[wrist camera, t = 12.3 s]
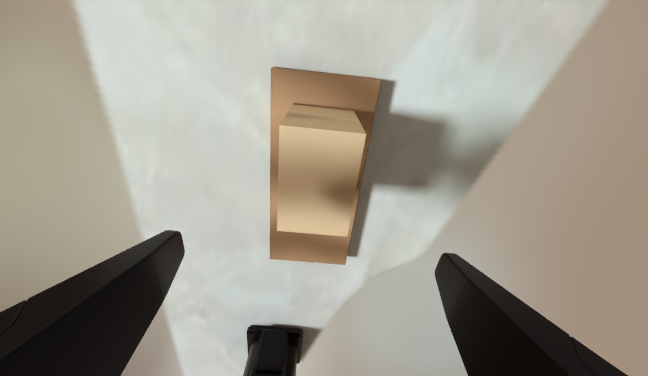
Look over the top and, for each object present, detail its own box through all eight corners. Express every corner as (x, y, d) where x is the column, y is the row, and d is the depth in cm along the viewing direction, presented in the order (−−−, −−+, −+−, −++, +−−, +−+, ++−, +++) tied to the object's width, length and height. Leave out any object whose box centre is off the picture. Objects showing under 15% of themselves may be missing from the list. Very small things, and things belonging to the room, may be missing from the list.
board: (344, 255, 25) (345, 264, 23) (272, 250, 24) (269, 258, 23) (377, 78, 17) (380, 80, 16) (274, 66, 17) (270, 67, 16)
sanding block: (340, 187, 20) (347, 236, 14) (289, 183, 20) (276, 230, 14) (353, 109, 17) (366, 134, 12) (293, 102, 17) (279, 124, 11)
